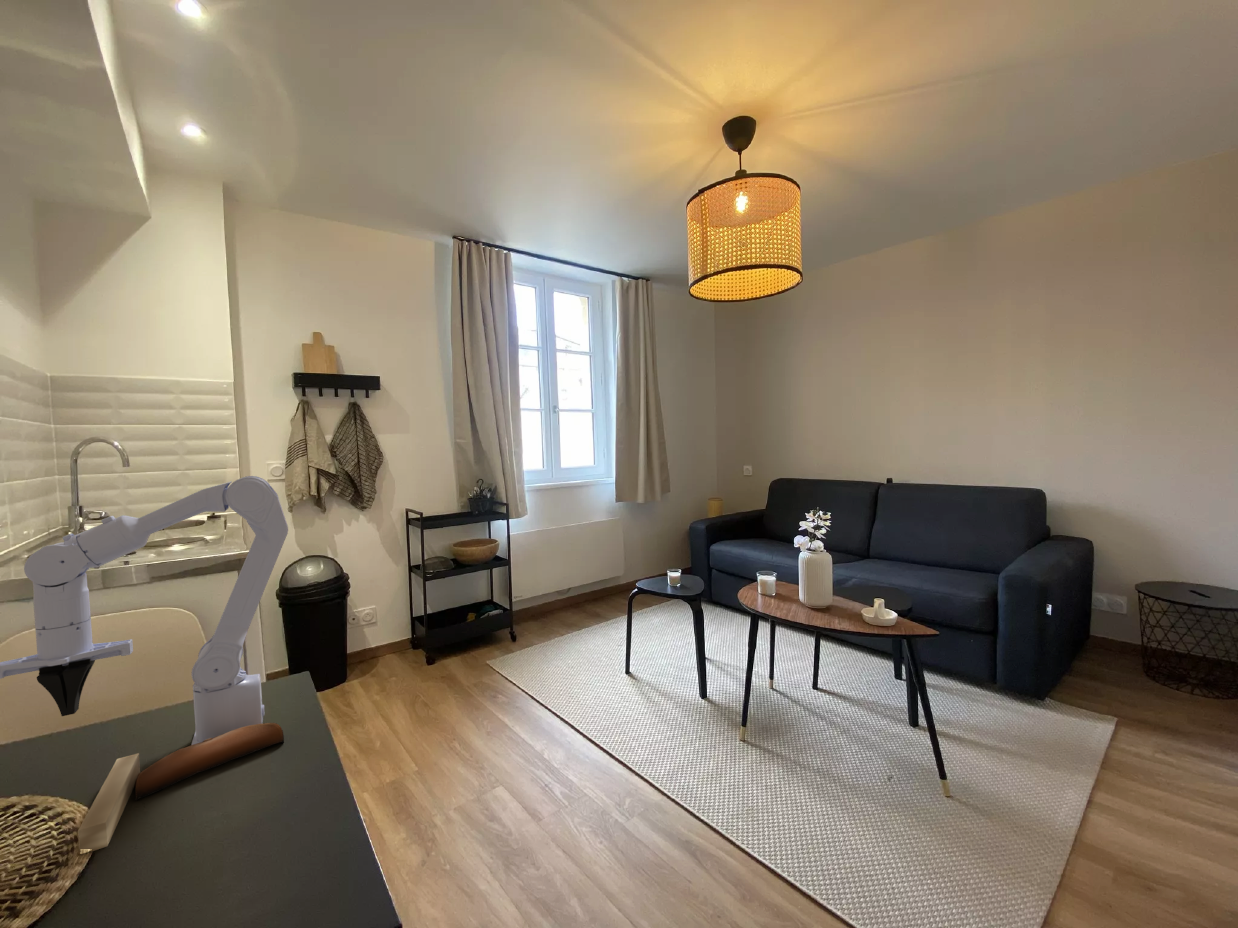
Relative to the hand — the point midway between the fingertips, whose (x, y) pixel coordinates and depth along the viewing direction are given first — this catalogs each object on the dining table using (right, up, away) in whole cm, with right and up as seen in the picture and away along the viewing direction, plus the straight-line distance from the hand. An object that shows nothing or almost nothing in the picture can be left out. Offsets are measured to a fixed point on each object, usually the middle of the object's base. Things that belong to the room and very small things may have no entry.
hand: (70, 712), depth 78 cm
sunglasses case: (+20, -9, +2) cm, 22 cm away
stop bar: (+15, -9, -8) cm, 19 cm away
